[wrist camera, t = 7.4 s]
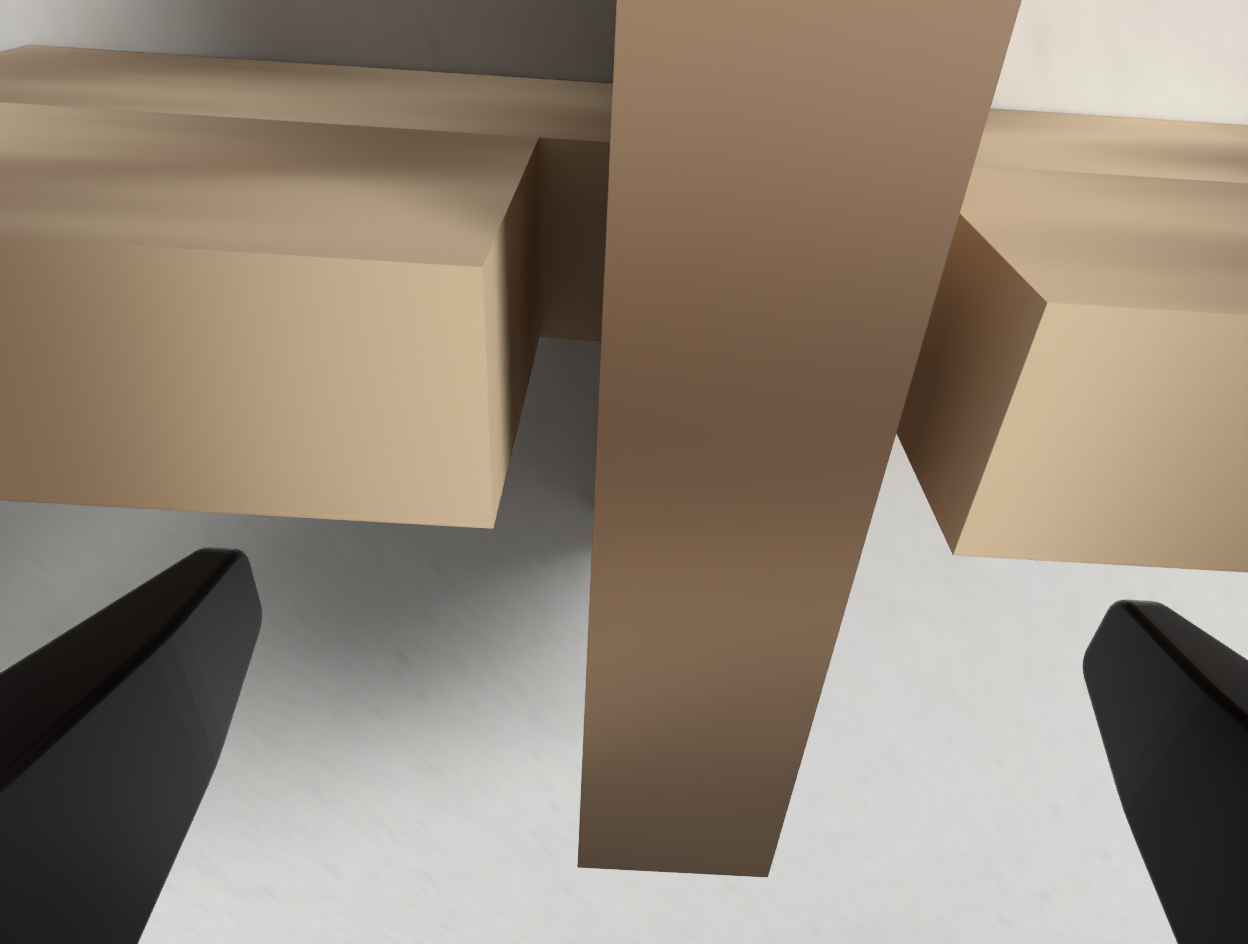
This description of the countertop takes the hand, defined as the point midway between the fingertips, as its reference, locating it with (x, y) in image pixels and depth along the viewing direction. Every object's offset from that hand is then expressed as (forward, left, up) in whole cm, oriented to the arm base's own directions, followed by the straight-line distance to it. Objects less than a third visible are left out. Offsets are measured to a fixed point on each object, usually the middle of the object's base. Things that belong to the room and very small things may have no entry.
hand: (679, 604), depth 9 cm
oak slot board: (+3, 0, -4) cm, 5 cm away
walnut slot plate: (+3, 0, -4) cm, 5 cm away
